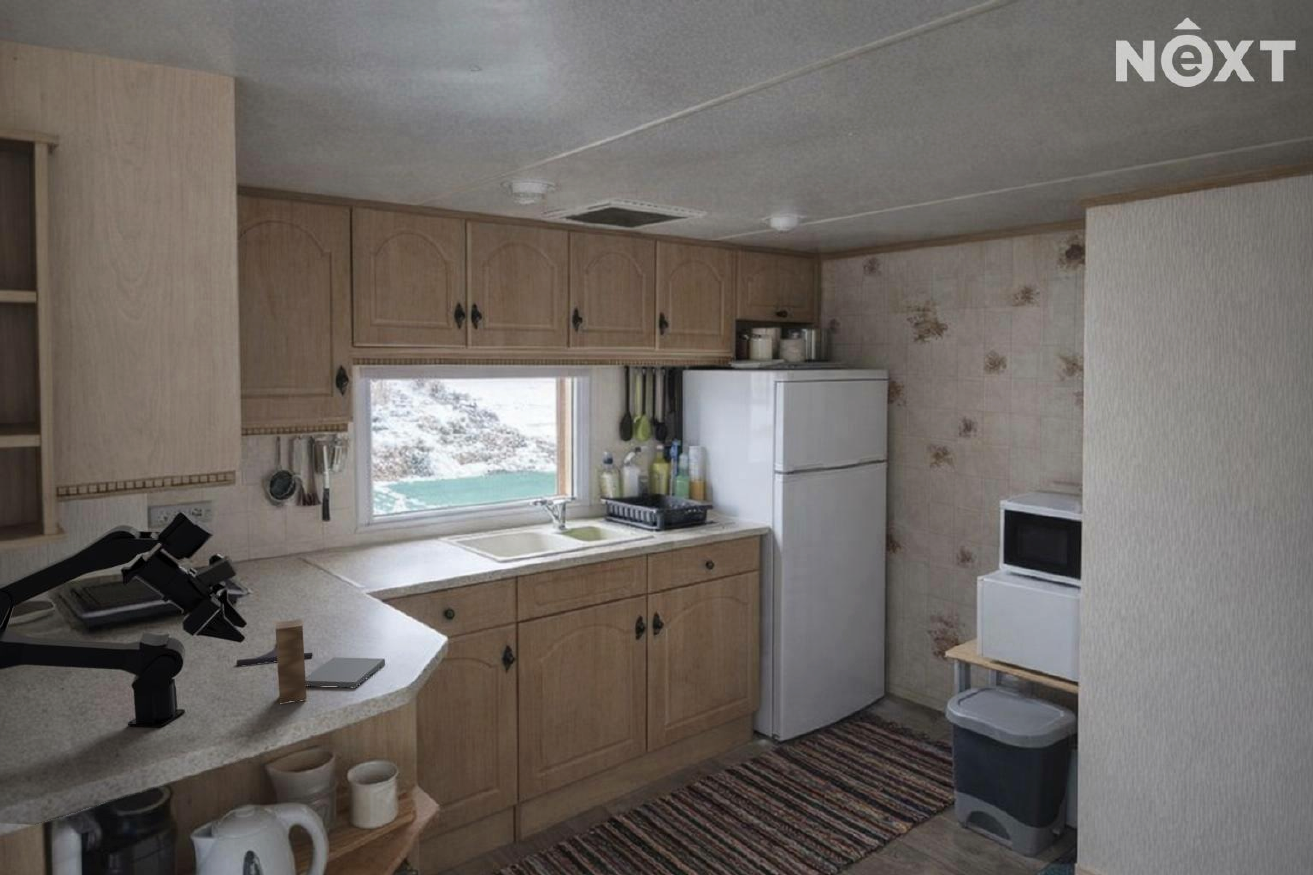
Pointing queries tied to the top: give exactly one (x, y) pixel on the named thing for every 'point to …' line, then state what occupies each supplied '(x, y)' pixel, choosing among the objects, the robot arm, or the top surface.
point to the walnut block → (290, 661)
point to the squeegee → (266, 658)
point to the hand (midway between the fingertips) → (244, 632)
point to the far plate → (344, 672)
